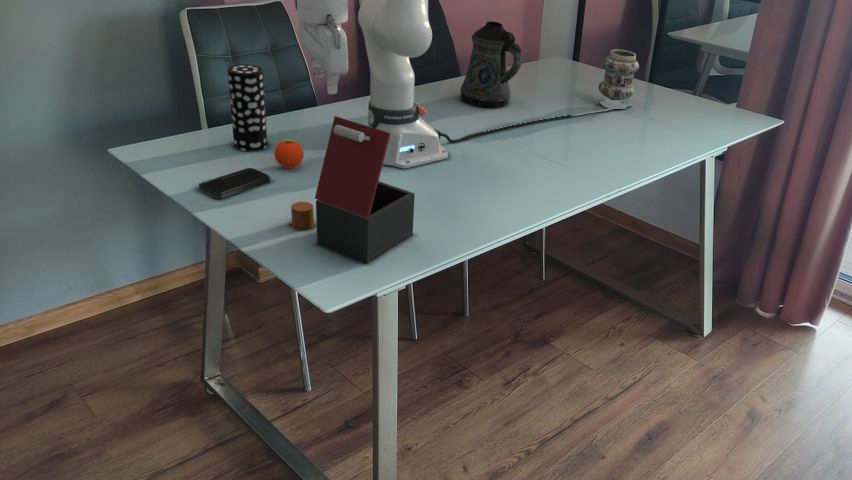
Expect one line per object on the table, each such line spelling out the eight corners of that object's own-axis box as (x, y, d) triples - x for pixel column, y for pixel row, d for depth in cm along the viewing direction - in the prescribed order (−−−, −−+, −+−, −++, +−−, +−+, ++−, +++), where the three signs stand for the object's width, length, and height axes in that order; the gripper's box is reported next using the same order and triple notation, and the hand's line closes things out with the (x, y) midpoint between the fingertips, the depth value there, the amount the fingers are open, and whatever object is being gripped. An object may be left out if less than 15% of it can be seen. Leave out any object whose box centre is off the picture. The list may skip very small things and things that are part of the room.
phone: (272, 176, 180) (218, 195, 169) (272, 181, 180) (218, 199, 170) (250, 166, 183) (196, 184, 173) (250, 171, 184) (196, 188, 173)
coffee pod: (309, 218, 167) (309, 200, 164) (316, 227, 163) (316, 209, 161) (289, 221, 164) (288, 203, 162) (295, 231, 161) (295, 212, 159)
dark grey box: (364, 217, 170) (365, 176, 164) (412, 235, 165) (414, 193, 160) (317, 244, 157) (315, 200, 152) (367, 264, 152) (368, 219, 147)
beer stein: (464, 89, 257) (470, 13, 244) (521, 98, 256) (530, 21, 243) (455, 104, 243) (461, 24, 230) (515, 113, 241) (524, 33, 229)
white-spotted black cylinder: (258, 153, 194) (252, 76, 184) (228, 148, 195) (221, 70, 185) (273, 142, 201) (268, 67, 191) (243, 137, 202) (237, 62, 192)
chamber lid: (337, 116, 149) (321, 112, 145) (391, 133, 144) (377, 129, 140) (316, 198, 152) (301, 197, 148) (369, 217, 147) (354, 217, 143)
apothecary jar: (633, 113, 254) (643, 59, 244) (597, 109, 253) (606, 55, 244) (628, 101, 264) (638, 49, 255) (594, 98, 264) (603, 46, 254)
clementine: (272, 161, 191) (270, 134, 187) (300, 159, 194) (299, 132, 190) (277, 173, 185) (276, 146, 181) (306, 171, 187) (305, 144, 184)
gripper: (357, 23, 129) (357, 102, 136) (325, -4, 144) (327, 68, 151) (320, 23, 126) (322, 104, 134) (292, -4, 142) (295, 69, 149)
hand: (324, 85), depth 143 cm, fingers open, 8 cm apart
